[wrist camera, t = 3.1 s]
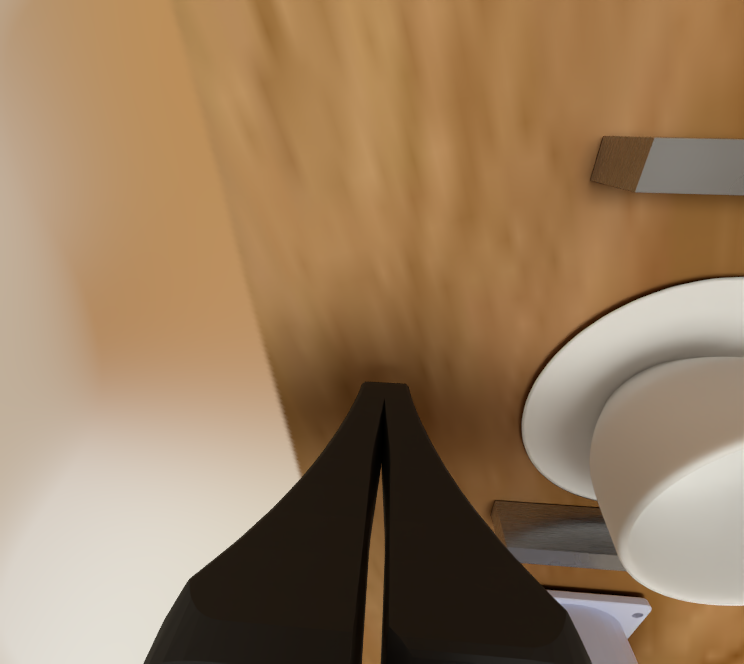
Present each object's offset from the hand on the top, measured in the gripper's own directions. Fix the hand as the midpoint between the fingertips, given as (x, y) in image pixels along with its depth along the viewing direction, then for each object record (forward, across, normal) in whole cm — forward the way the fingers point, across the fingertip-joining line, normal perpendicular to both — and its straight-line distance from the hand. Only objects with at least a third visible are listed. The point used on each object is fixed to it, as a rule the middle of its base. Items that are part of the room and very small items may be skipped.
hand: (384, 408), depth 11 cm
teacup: (+2, -10, +1) cm, 10 cm away
